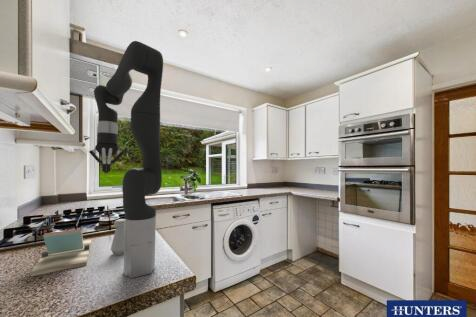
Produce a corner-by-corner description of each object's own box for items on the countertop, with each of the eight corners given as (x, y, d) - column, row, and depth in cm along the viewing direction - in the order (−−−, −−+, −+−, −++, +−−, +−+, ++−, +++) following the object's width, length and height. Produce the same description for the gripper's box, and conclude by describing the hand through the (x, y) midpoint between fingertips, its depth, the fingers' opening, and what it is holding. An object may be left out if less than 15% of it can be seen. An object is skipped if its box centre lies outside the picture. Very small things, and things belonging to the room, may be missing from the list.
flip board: (86, 265, 70) (86, 256, 70) (29, 276, 63) (30, 267, 63) (91, 241, 92) (92, 235, 92) (50, 247, 85) (50, 240, 85)
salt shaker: (120, 257, 76) (121, 222, 77) (107, 255, 77) (108, 221, 78) (131, 251, 82) (132, 218, 82) (118, 249, 83) (119, 217, 84)
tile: (83, 246, 81) (83, 249, 80) (49, 252, 75) (49, 255, 75) (81, 228, 73) (81, 232, 72) (44, 233, 68) (43, 237, 67)
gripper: (88, 130, 82) (86, 173, 81) (125, 133, 89) (124, 173, 89) (89, 132, 88) (87, 172, 88) (124, 135, 96) (123, 172, 95)
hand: (106, 172), depth 88 cm, fingers closed
